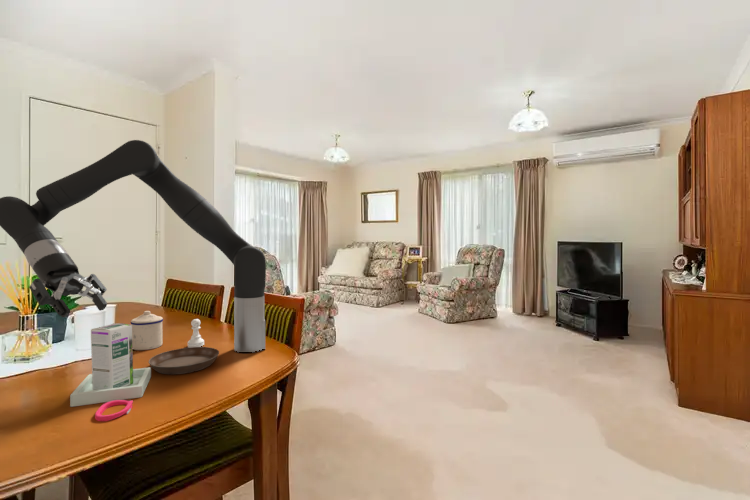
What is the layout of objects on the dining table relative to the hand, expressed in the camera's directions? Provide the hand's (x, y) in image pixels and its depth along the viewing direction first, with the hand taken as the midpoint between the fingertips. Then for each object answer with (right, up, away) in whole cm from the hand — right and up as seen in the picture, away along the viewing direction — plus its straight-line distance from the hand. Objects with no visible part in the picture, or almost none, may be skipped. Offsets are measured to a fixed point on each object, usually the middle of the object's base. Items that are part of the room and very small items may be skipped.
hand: (86, 311), depth 89 cm
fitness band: (+15, -19, -12) cm, 27 cm away
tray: (+8, -18, -2) cm, 20 cm away
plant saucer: (+16, -18, +16) cm, 29 cm away
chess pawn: (+10, -17, +34) cm, 39 cm away
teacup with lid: (-7, -17, +32) cm, 37 cm away
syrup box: (+8, -18, -2) cm, 19 cm away
